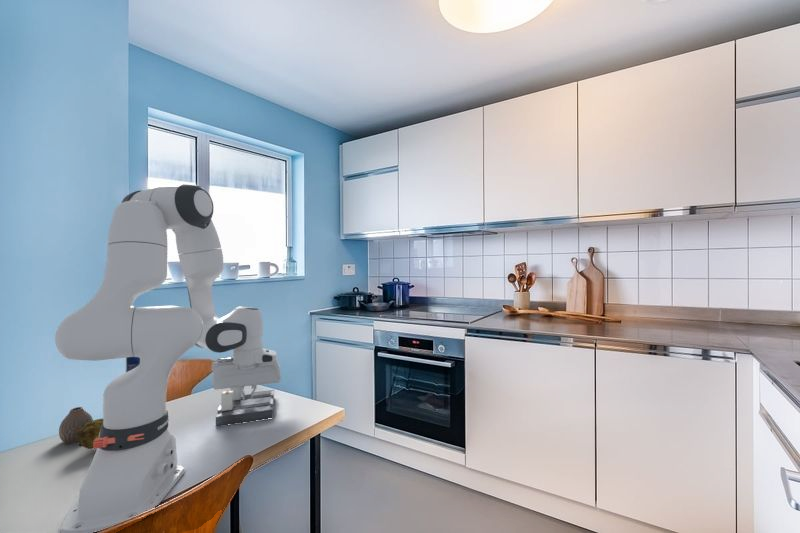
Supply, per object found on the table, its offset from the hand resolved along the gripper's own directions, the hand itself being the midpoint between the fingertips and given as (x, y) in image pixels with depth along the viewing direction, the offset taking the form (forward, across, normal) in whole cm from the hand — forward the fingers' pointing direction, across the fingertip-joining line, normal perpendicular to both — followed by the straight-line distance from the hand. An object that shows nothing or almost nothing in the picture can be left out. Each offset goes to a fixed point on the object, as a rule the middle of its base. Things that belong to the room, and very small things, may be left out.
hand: (248, 398), depth 109 cm
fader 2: (+2, -4, +8) cm, 9 cm away
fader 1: (+2, -6, 0) cm, 6 cm away
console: (+5, 0, +3) cm, 6 cm away
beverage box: (+6, -32, +10) cm, 34 cm away
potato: (+6, -34, -8) cm, 35 cm away
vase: (+6, -43, -1) cm, 44 cm away
